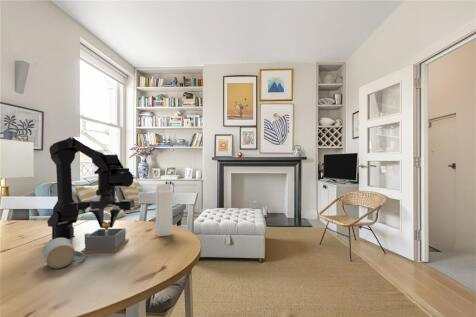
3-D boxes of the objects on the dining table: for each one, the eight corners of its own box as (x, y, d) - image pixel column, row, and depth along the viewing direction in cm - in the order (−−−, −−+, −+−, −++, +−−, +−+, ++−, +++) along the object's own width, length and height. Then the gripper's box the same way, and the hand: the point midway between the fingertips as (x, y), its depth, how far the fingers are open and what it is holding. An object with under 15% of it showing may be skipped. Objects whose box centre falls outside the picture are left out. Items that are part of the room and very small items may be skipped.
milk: (172, 234, 107) (172, 184, 108) (158, 237, 104) (158, 185, 105) (168, 231, 113) (169, 183, 113) (155, 233, 110) (155, 184, 110)
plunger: (89, 244, 88) (89, 224, 88) (100, 237, 96) (100, 219, 96) (113, 243, 88) (113, 224, 88) (122, 236, 96) (122, 218, 97)
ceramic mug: (46, 273, 70) (46, 246, 71) (42, 264, 76) (43, 239, 76) (88, 263, 78) (88, 239, 78) (82, 256, 84) (83, 233, 84)
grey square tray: (76, 253, 85) (76, 237, 85) (93, 242, 97) (93, 228, 97) (116, 252, 86) (116, 236, 87) (128, 241, 98) (128, 227, 99)
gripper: (67, 188, 83) (67, 234, 83) (124, 188, 85) (124, 233, 85) (85, 185, 94) (84, 226, 94) (135, 185, 96) (134, 224, 96)
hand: (106, 227), depth 92 cm, fingers closed on plunger, 3 cm apart
